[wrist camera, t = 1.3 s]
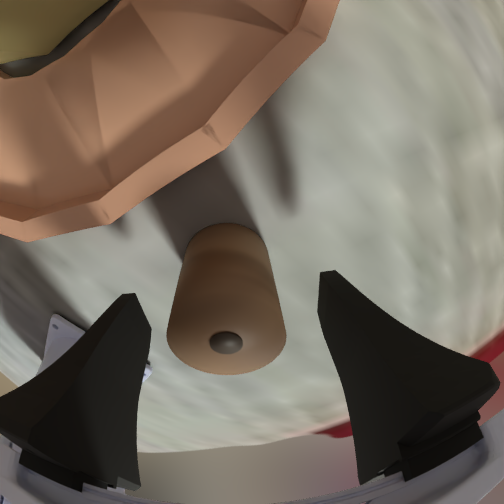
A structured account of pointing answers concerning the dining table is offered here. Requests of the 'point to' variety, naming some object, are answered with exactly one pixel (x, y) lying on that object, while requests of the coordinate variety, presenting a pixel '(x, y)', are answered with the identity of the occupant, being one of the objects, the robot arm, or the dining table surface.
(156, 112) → the dish
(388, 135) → the dining table surface
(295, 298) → the dining table surface
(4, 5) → the jar
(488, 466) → the robot arm
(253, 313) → the bead
